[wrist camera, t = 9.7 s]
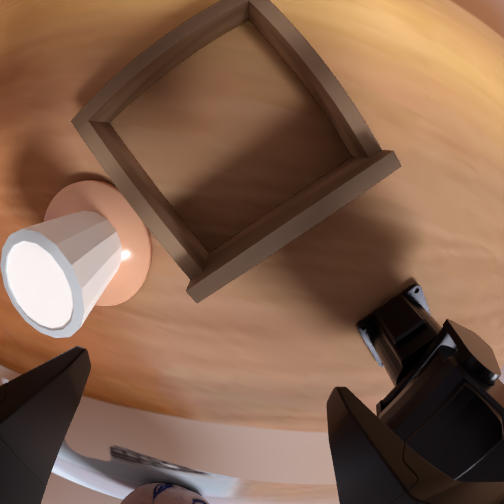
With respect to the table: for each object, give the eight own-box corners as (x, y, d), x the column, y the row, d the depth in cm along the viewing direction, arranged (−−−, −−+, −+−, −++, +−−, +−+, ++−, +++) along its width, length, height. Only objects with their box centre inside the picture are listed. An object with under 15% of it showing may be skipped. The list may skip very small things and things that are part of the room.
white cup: (122, 300, 20) (83, 356, 14) (54, 270, 20) (4, 311, 13) (138, 218, 18) (88, 255, 12) (62, 191, 17) (-2, 214, 11)
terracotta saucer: (179, 258, 20) (176, 262, 19) (100, 319, 22) (96, 324, 21) (97, 151, 17) (92, 152, 17) (31, 232, 19) (26, 235, 18)
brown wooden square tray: (370, 161, 18) (401, 166, 14) (206, 272, 21) (196, 303, 16) (252, 5, 14) (253, -28, 10) (93, 123, 17) (57, 120, 12)
